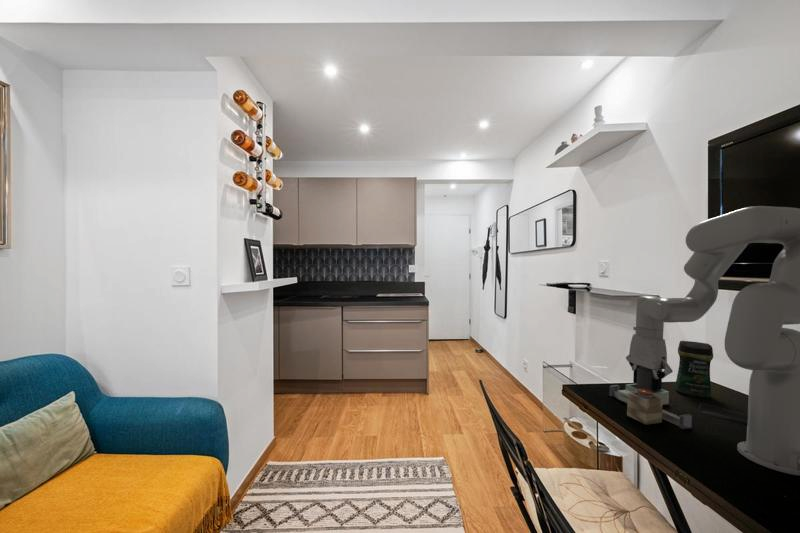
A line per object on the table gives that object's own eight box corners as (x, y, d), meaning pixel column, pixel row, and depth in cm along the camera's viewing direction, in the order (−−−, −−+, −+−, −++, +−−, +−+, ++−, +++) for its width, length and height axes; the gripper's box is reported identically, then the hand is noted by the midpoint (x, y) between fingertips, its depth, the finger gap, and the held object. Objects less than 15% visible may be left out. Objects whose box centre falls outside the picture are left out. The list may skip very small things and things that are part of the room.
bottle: (650, 397, 118) (652, 354, 118) (661, 405, 112) (663, 359, 112) (632, 396, 119) (633, 353, 118) (642, 403, 113) (644, 358, 112)
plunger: (655, 409, 101) (656, 392, 101) (645, 410, 100) (646, 393, 100) (643, 404, 104) (643, 387, 104) (633, 405, 103) (634, 388, 103)
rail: (691, 427, 97) (691, 415, 97) (683, 429, 96) (683, 416, 96) (616, 394, 120) (617, 384, 120) (609, 395, 119) (609, 385, 119)
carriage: (668, 403, 113) (669, 391, 112) (637, 407, 109) (637, 395, 109) (644, 393, 121) (644, 382, 120) (614, 397, 117) (614, 385, 117)
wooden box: (661, 422, 100) (662, 398, 100) (645, 424, 98) (646, 400, 98) (642, 413, 106) (643, 390, 106) (626, 415, 104) (627, 392, 104)
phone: (767, 427, 97) (697, 409, 108) (766, 431, 97) (697, 412, 108) (767, 418, 102) (700, 402, 113) (766, 422, 102) (700, 405, 113)
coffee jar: (678, 394, 122) (680, 342, 121) (673, 387, 128) (675, 338, 128) (714, 400, 117) (717, 346, 116) (707, 392, 124) (709, 341, 123)
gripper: (617, 328, 122) (615, 378, 123) (667, 339, 106) (664, 397, 106) (633, 327, 124) (631, 376, 125) (684, 338, 108) (682, 395, 108)
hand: (646, 385), depth 115 cm, fingers closed on bottle, 5 cm apart
